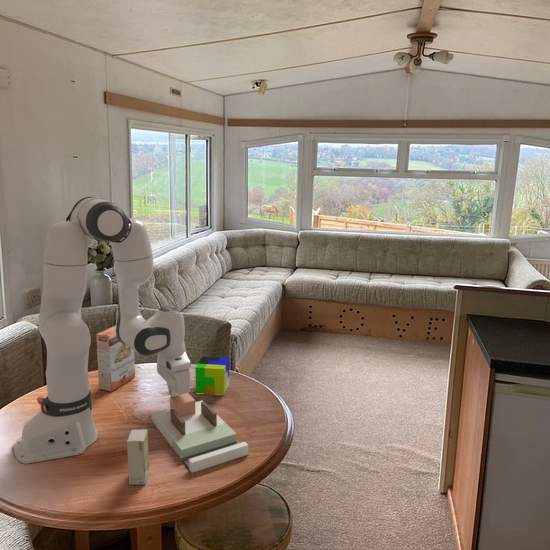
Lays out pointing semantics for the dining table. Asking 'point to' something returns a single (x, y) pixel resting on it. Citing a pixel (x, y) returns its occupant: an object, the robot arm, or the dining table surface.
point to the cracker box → (113, 361)
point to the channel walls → (205, 411)
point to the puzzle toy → (212, 375)
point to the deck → (200, 439)
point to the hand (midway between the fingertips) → (173, 395)
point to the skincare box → (138, 457)
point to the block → (183, 404)
